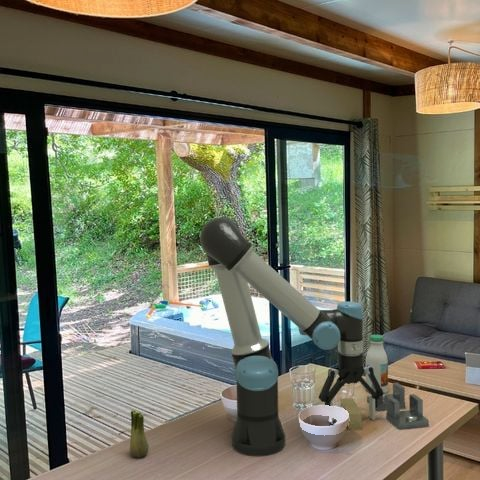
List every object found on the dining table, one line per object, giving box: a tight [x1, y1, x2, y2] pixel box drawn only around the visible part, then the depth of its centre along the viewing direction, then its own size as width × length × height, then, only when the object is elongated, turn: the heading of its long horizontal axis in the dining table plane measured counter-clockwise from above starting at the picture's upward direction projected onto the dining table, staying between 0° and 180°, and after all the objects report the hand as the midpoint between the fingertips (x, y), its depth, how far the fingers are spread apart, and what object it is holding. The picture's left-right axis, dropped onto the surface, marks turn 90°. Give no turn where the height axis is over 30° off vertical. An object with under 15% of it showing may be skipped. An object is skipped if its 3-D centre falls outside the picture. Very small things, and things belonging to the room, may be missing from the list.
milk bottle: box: [365, 334, 389, 394], centre depth 182 cm, size 8×8×20 cm
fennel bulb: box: [129, 409, 149, 458], centre depth 139 cm, size 6×5×12 cm
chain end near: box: [385, 393, 430, 431], centre depth 155 cm, size 10×8×7 cm
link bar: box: [340, 398, 363, 431], centre depth 158 cm, size 12×4×5 cm, turn 0°
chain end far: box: [366, 382, 406, 412], centre depth 169 cm, size 10×8×7 cm
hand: (351, 420), depth 158 cm, fingers open, 13 cm apart
